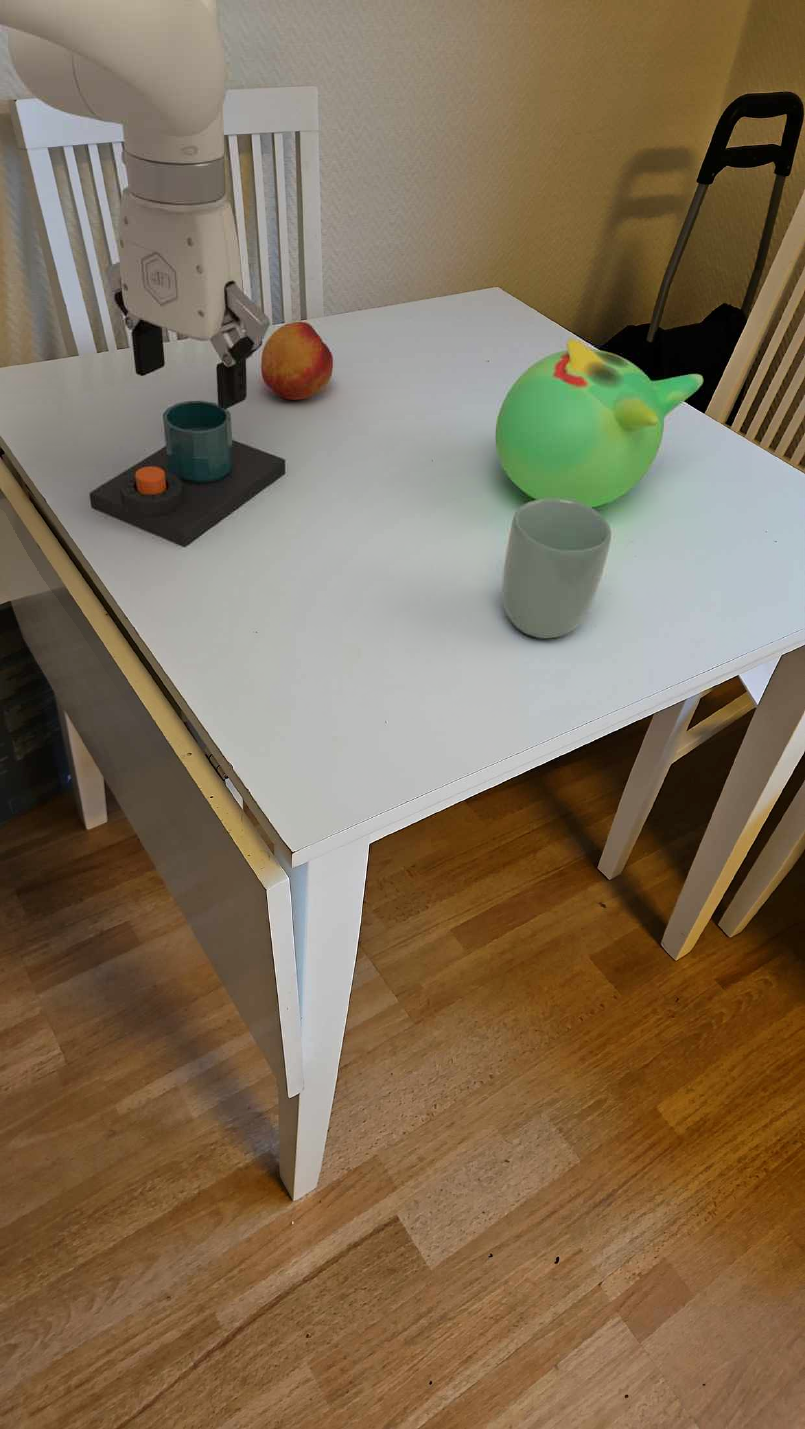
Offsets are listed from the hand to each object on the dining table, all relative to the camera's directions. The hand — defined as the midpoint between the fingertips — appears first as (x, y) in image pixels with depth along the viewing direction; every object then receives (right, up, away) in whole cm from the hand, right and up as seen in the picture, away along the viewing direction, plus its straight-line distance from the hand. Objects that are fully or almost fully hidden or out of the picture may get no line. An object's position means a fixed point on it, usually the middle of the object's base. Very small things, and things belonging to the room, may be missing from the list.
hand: (190, 387), depth 87 cm
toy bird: (+37, -7, +12) cm, 39 cm away
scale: (-1, -8, +7) cm, 10 cm away
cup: (+31, -22, -4) cm, 38 cm away
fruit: (+7, +7, +22) cm, 24 cm away
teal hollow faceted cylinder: (0, -6, +6) cm, 9 cm away
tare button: (-4, -9, +1) cm, 10 cm away
